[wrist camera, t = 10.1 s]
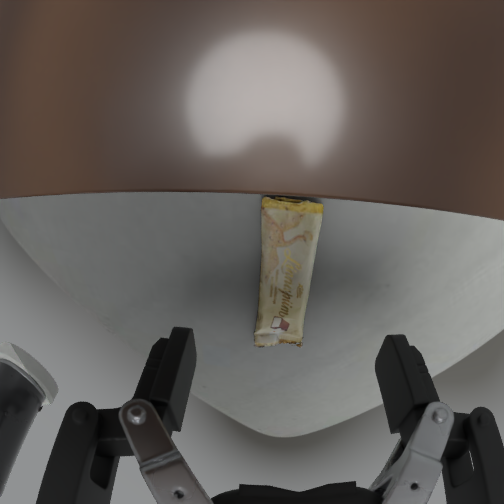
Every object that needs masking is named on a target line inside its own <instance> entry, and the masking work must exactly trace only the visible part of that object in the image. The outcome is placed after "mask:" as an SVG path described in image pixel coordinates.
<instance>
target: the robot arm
mask: <svg viewBox="0 0 504 504" xmlns="http://www.w3.org/2000/svg"><path fill="white" fill-rule="evenodd" d="M196 357H197V356H196V347H195V340H194V334H193V329H192V328H184V327H173V329H172V332H171V335H170V337H169V339H168V338H160V339H159V340H158V341H157V342H156V343H155V344H154V345H153V346H152V349H151V351H150V354H149V358H148V359H147V362H146V366H145V367H144V370H143V372H142V375H141V378H140V380H139V383H138V386H137V388H136V391H135V394H134V396H133V398H132V399H131V400H130V401H128V402H126V403H125V404H124V405H123V406H122V407H119V408H114V409H97V410H96V408H95V407H94V406H93V405H92V404H90V403H88V402H77V403H74V404H73V405H71V406H70V407H69V408H68V410H67V411H66V413H65V416H64V418H63V421H62V424H61V427H60V429H59V432H58V435H57V437H56V441H55V443H54V446H53V449H52V452H51V455H50V458H49V461H48V464H47V467H46V471H45V473H44V477H43V480H42V484H41V487H40V491H39V494H38V498H37V501H36V504H110V500H111V495H112V490H113V485H114V481H115V476H116V472H117V467H118V463H119V459H120V456H135V457H136V459H137V461H138V463H139V466H140V471H141V474H142V476H143V478H144V479H145V482H146V484H147V486H148V487H149V489H150V491H151V493H152V495H153V497H154V498H155V500H156V502H157V504H427V502H428V500H429V498H430V496H431V494H432V491H433V489H434V487H435V485H436V483H437V480H438V478H439V476H440V473H441V471H442V474H443V480H444V487H445V494H446V501H447V504H504V446H503V443H502V440H501V436H500V433H499V430H498V427H497V424H496V422H495V418H494V416H493V414H492V412H491V411H490V410H489V409H487V408H485V407H477V408H475V409H474V410H473V411H472V412H471V413H470V414H465V413H456V412H453V411H452V409H451V408H450V407H449V406H448V405H447V404H445V403H443V402H440V400H439V397H438V394H437V392H436V389H435V387H434V384H433V381H432V379H431V376H430V374H429V373H428V369H427V366H426V365H425V361H424V359H423V357H422V354H421V353H420V352H419V351H418V350H417V349H416V348H415V346H409V343H408V341H407V338H406V336H405V335H404V334H399V335H387V336H386V337H385V339H384V342H383V344H382V346H381V349H380V351H379V353H378V355H377V358H376V361H375V372H376V376H377V379H378V383H379V387H380V391H381V395H382V399H383V403H384V407H385V411H386V415H387V419H388V424H389V428H390V432H391V434H394V433H400V435H401V438H400V439H399V441H398V443H397V444H396V447H395V448H394V450H393V452H392V454H391V456H390V457H389V459H388V461H387V463H386V465H385V467H384V468H383V470H382V471H381V473H380V475H379V476H378V477H377V478H376V479H375V481H374V482H373V483H372V485H371V486H370V487H369V489H365V488H360V487H356V481H352V482H343V483H333V484H327V485H323V486H320V487H317V488H313V489H310V490H306V491H302V492H296V491H291V490H286V489H281V488H277V487H273V486H267V485H265V486H264V485H245V484H240V485H239V489H236V490H231V491H227V492H224V493H221V494H219V495H217V496H215V497H213V498H211V499H210V498H209V496H208V495H207V493H206V492H205V490H204V489H203V488H202V486H201V485H200V483H199V482H198V480H197V479H196V477H195V476H194V474H193V472H192V471H191V469H190V468H189V466H188V465H187V463H186V461H185V460H184V458H183V457H182V455H181V453H180V452H179V451H178V449H177V448H176V446H175V444H174V442H173V441H172V439H171V435H172V431H178V432H180V431H181V427H182V422H183V418H184V413H185V409H186V405H187V400H188V396H189V392H190V388H191V384H192V379H193V375H194V371H195V367H196ZM45 399H46V395H45V393H44V391H43V390H42V388H41V387H40V386H39V384H38V383H37V382H36V381H35V380H34V379H33V378H32V377H31V376H30V375H29V374H27V373H26V372H25V371H24V370H23V369H21V368H20V367H19V366H17V365H16V364H14V363H13V362H11V361H9V360H7V359H3V358H1V359H0V497H1V495H2V494H3V491H4V488H5V485H6V483H7V481H8V478H9V475H10V473H11V470H12V468H13V465H14V463H15V461H16V458H17V456H18V453H19V451H20V449H21V447H22V444H23V442H24V440H25V438H26V436H27V433H28V431H29V429H30V427H31V425H32V423H33V421H34V419H35V417H36V415H37V413H38V412H39V411H41V409H42V407H43V406H42V407H41V405H42V403H43V402H44V401H45ZM469 451H470V453H471V457H472V461H471V457H470V453H469ZM472 462H473V466H474V470H473V466H472ZM4 484H5V485H4Z"/></svg>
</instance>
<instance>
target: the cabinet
mask: <svg viewBox="0 0 504 504" xmlns="http://www.w3.org/2000/svg"><path fill="white" fill-rule="evenodd" d="M113 192H214V193H245V194H267V195H286V196H302V197H316V198H329V199H342V200H353V201H364V202H374V203H383V204H392V205H401V206H410V207H418V208H425V209H433V210H440V211H447V212H454V213H461V214H467V215H474V216H480V217H486V218H492V219H498V220H503V221H504V0H0V199H7V198H18V197H31V196H45V195H62V194H83V193H113Z"/></svg>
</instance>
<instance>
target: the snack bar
mask: <svg viewBox="0 0 504 504" xmlns="http://www.w3.org/2000/svg"><path fill="white" fill-rule="evenodd" d="M323 207H324V206H323V205H322V204H317V203H315V202H310V201H308V200H306V201H301V200H294V199H290V198H285V197H282V198H280V197H277V196H276V197H275V198H274V199H271V198H269V197H266V196H264V198H263V199H262V206H261V243H262V250H261V253H262V254H261V271H260V284H259V300H258V315H257V323H256V331H254V341H255V344H256V345H254V346H256V347H264V346H273V345H277V344H278V343H279V344H280V343H282V342H283V343H284V344H285V343H289V344H291V343H293V344H296V343H300V344H297V345H296V346H298V347H302V345H303V343H302V342H301V341H302V338H303V337H302V335H303V322H304V318H305V310H306V306H307V300H308V297H309V290H310V282H311V278H312V272H313V265H314V260H315V255H316V249H317V243H318V238H319V233H320V227H321V223H322V216H323ZM255 335H256V336H255ZM290 342H291V343H290ZM293 346H294V345H293Z"/></svg>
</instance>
